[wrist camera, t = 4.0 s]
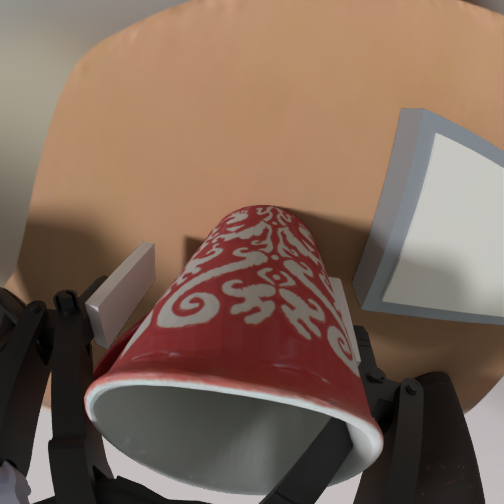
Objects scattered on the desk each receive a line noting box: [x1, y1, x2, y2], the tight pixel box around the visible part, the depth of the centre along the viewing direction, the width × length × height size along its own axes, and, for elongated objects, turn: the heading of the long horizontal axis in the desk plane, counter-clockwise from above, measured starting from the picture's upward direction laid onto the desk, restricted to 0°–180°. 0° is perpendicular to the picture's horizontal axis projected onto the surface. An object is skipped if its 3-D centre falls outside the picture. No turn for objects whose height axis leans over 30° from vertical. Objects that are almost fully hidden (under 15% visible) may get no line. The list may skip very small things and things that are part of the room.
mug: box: [84, 205, 384, 495], centre depth 13 cm, size 13×9×14 cm
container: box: [413, 373, 485, 504], centre depth 15 cm, size 9×9×20 cm
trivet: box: [352, 108, 504, 325], centre depth 14 cm, size 16×12×3 cm
